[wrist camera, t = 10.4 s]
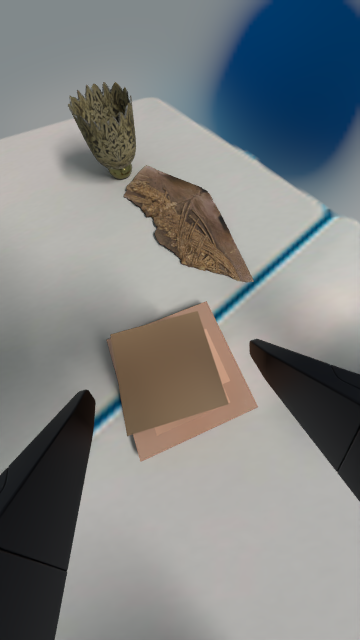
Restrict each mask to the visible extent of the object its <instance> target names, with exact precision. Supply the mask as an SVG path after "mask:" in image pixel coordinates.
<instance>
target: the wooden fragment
mask: <svg viewBox="0 0 360 640" xmlns="http://www.w3.org/2000/svg"><path fill="white" fill-rule="evenodd" d="M126 189H127V191H126V193H125V195H124V197H125V198H128V200H131V201H133V203H134V204H135V205H137V206H139V207H141V209H142V210H143V212H144V213H145V215H146V217H152V218H153V220H154V223H155V225H156V227H157V230H156V231H155V237H156V239H157V240H158V242H159V243H160V244H161V245H164V246H165V247H167V248H168V249H170V250H171V251H173V252H174V253H175V254H176V255H177V256H178V257H179V258H180V259H181V263H182V264H184V265H186V266H188V267H194V268H197V269H199V270H204V271H205V270H208V271H210V272H214V273H220V274H223V275H226V276H231V277H232V278H233V279H235V280H237V281H242V282H253V278H252V276H251V275H250V272H249V270H248V268H247V266H246V264H245V262H244V260H243V258H242V256H241V254H240V252H239V250H238V248H237V246H236V244H235V243H234V240H233V238H232V236H231V234H230V232H229V229H228V228H227V225H226V224H225V222H224V220H223V217H222V216H221V214H220V212H219V210H218V209H217V207H216V205H215V203H214V202H213V199H212V197H211V196H210V194H209V193H208V192H207V191H206V190H204V189H202V188H201V187H199V186H196V185H194V184H191V183H189V182H186V181H184V180H181V179H178V178H176V177H173V176H171V175H168V174H166V173H163V172H160V171H158V170H156V169H154V168H152V167H150V166H147V165H146V166H144V167H143V169H142V170H141V171H140V172H139V173H138V174H137V175H136V176H135V178H134V179H133V181H132V182H131V183H130V184H129V185H127V187H126Z"/></svg>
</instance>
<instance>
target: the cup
mask: <svg viewBox="0 0 360 640" xmlns="http://www.w3.org/2000/svg"><path fill="white" fill-rule="evenodd" d="M102 88H103V91H104V93H103V92H101V90H100V89H99V87H98V86H97V85H96V84H93V86H92V88H91V89H90V88H89V87H88V85H86V93H85V98H84V96H83V95H82V94H81V93H80V92H79V91H78V90H77V94H78V99H77V98H75V97H71V96H70V97H69V99H70V104H68V107H69V109H70V111H71V112H72V115H73V117H74V119H75V121H76V123H77V125H78V127H79V129H80V131H81V133H82V135H83V137H84V139H85V141H86V143H87V144H88V146H89V148H90V150H91V152H92V153H93V155H94V156H95V158H96V159H97V160H98V161H99V162H100V163H101V164H102V165H103V166H105V167H107V168H108V170H109V172H110V174H111V175H112V176H113V177H114V178H117V179H124V178H127V177H128V176H129V175H130V174H131V172H132V164H131V162H132V161H133V159H134V156H135V151H136V138H135V128H134V119H133V110H132V100H131V96H130V101H129V99H128V92H127V90H126V88H124V89H123V91H122V88H121V87H120V86H119V85H118V84H117V83H116V82H115V83H114V85H113V86H112V89H111V90H110V91H109V88H108V86H107V84H106V83H105V82H103V87H102ZM103 94H104V95H103Z"/></svg>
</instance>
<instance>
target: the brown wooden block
mask: <svg viewBox="0 0 360 640" xmlns="http://www.w3.org/2000/svg"><path fill="white" fill-rule="evenodd" d="M110 336H111V342H112V348H113V354H114V360H115V366H116V372H117V378H118V384H119V390H120V396H121V402H122V408H123V414H124V420H125V426H126V432H127V436H129V435H133V434H136V433H139V432H142V431H145V430H148V429H152V428H155V427H158V426H161V425H164V424H167V423H171V422H174V421H177V420H180V419H183V418H186V417H190V416H193V415H196V414H199V413H202V412H205V411H209V410H212V409H215V408H218V407H221V406H224V405H228V404H229V403H228V400H227V397H226V394H225V391H224V388H223V385H222V382H221V379H220V376H219V373H218V370H217V367H216V364H215V361H214V358H213V355H212V352H211V349H210V346H209V343H208V340H207V337H206V334H205V331H204V328H203V325H202V322H201V319H200V316H199V313H198V311H195V312H191V313H188V314H184V315H180V316H177V317H173V318H169V319H166V320H162V321H158V322H155V323H151V324H147V325H144V326H140V327H136V328H133V329H129V330H125V331H122V332H118V333H114V334H111V335H110Z"/></svg>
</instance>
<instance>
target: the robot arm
mask: <svg viewBox="0 0 360 640" xmlns="http://www.w3.org/2000/svg"><path fill="white" fill-rule="evenodd" d="M250 355H251V357H252V359H253V360H254V362H255V364H256V365H257V367H258V368H259V370H260V372H261V373H262V375H263V377H264V378H265V380H266V381H267V382H268V384H269V385H270V386H271V387H272V389H273V390H274V391H275V393H276V394H277V395H278V397H279V398H280V399H281V400H282V402H283V403H284V404H285V406H286V407H287V408H288V409H289V411H290V412H291V413H292V415H293V416H294V417H295V418H296V420H297V421H298V422H299V424H300V425H301V426H302V428H303V429H304V430H305V431H306V433H307V434H308V435H309V437H310V438H311V439H312V440H313V442H314V443H315V444H316V446H317V447H318V448H319V449H320V451H321V452H322V453H323V455H324V456H325V457H326V458H327V460H328V461H329V462H330V464H331V465H332V466H333V468H334V469H335V470H336V471H337V472H338V474H339V475H340V477H341V478H342V479H343V481H344V482H345V483H346V484H347V486H348V487H349V488H350V490H351V491H352V492H353V494H354V495H355V496H356V497H357V499H358V500H359V501H360V374H357V373H354V372H351V371H348V370H345V369H342V368H339V367H336V366H333V365H330V364H327V363H325V362H322V361H319V360H316V359H313V358H310V357H308V356H305V355H302V354H299V353H296V352H293V351H291V350H288V349H285V348H282V347H279V346H276V345H273V344H271V343H268V342H265V341H262V340H259V339H254V340H251V341H250ZM94 416H95V399H94V398H93V396H92V395H91V393H90V392H89V390H83V391H79V392H78V393H77V394H76V395H75V396H74V397H73V398H72V399H71V400H70V401H69V402H68V404H67V405H66V406H65V407H64V408H63V409H62V410H61V411H60V412H59V413H58V414H57V415H56V416H55V417H54V418H53V420H52V421H51V422H50V423H49V424H48V425H47V426H46V427H45V428H44V429H43V430H42V431H41V432H40V433H39V434H38V436H37V437H36V438H35V439H34V440H33V441H32V442H31V443H30V444H29V445H28V446H27V447H26V448H25V449H24V450H23V451H22V453H21V454H20V455H19V456H18V457H17V458H16V459H15V460H14V461H13V462H12V463H11V464H10V465H9V468H7V469H6V470H5V471H4V472H3V473H2V474H1V475H0V640H55V635H56V629H57V624H58V619H59V613H60V608H61V603H62V597H63V592H64V587H65V581H66V576H67V569H68V564H69V559H70V554H71V548H72V543H73V538H74V532H75V527H76V522H77V516H78V511H79V506H80V500H81V495H82V490H83V484H84V479H85V474H86V468H87V463H88V458H89V452H90V447H91V442H92V436H93V428H94Z"/></svg>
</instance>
